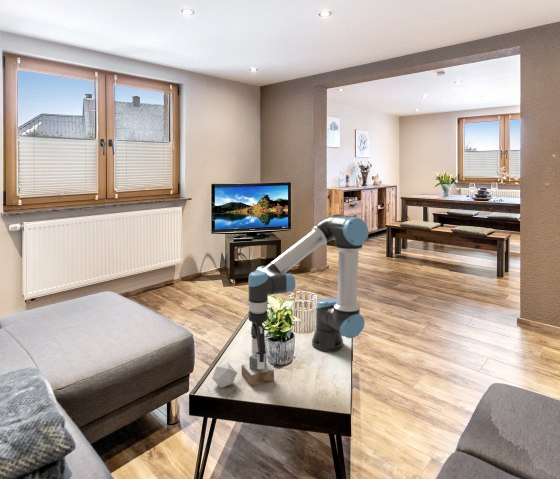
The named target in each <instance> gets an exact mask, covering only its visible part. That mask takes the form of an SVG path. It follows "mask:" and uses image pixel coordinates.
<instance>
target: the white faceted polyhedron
mask: <svg viewBox="0 0 560 479" xmlns="http://www.w3.org/2000/svg"><path fill="white" fill-rule="evenodd" d="M237 374H238V372H237V371H236V369H235V368H234V366H232V365H231V364H230V362H225V363H222V364H220V365H217V366H216V367H215V369H214V372H213V375H212V378H211V379H212V380H213V381H214V382H215V383H216V384H217V386H218V387H219V388H220V389H222V388H225V387H229V386H232V385H233V383H234V381H235V378H236V377H237Z"/></svg>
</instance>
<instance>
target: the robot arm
mask: <svg viewBox="0 0 560 479" xmlns="http://www.w3.org/2000/svg"><path fill="white" fill-rule="evenodd" d="M368 237H369V227H368V225H367V223H366V222H365V220H363V219H361V218H360V217H358V216H353V215H346V214H345V215H344V214H339V213H338V214H333V215H329V216H327V217H326V218H324V219H322V220H321V221H320V222H318V223H317V224H315V225H314V226H312V228H311V230H310V232H308V233H307V234H306V235H305V236H303V237H302V238H301V239H299V240H298V241H297V242H296V243H294V244H293V245H291V246H290V247H289V248H287V249H286V250H285V251H284V252H282V253H281V254H280V255H278V257H276V258H274V260H272V261H271V262H270V263H268V264H267V265H261V266H258V267H257V268H256V269H255V270H254V271H252V272H250V273H249V275H248V281H247V282H248V283H247V285H248V303H247V304H246V305H247V306H248V310H249V311H248V321H249V322H251V327H250V328H251V331H250V335H251V355H253V354H254V353H255V352H257V353H256V354H258V369H265V354H266V355H267V351H266V350H267V348H266V336H265V331H266V330H265V326H264V324H263V323H265V322H267V321H268V310H269V309H268V308H269V306H268V305H269V303H268V302H269V301H268V299H269V296H270V295H277V294H278V295H279V294H284V293H285V294H287V293H290V292H293V291H294V290H295V289H296V279H295V276H294V275H293V274H292V273H287V272H289V270H291V269H292V268H294V266H295V265H296V266H297V264H298V263H300V262H301V261H302V260H304V259H305V258H306V257H308V255H310V254H311V253H313V252H314V251H315V250H317V249H318V248H319V247H320V246H322V245H326V244H328V242H330V241H333V240H334V241H335V248H336V249H337V250H338V264H337V265H338V266H337V267H338V268H337V269H338V270H337V297H336V298H332V297H331V298H330V297H329V298H321V299H319V300H318V301H317V302H316V307H315V308H316V312H315V313H316V314H315V315H316V316H315V331H314V333H313V336H312V340H311V345H312V347H313V348H314V349H316V350H318V351H322V352H326V353H327V352H337V351H341V350H342V349H343V348H342V347H344V340H343V337H345V338H346V339H353V338H356V337H358V336H359V335H360V333H361V332H362V331H363V329H364V327H365V318H364V317H363V316H362V314H360V313H361V312H360V309H361V307H360V306H359V304H358V303H357V302H358V301H357V296H358V274H359V252H360V251H361V249H363V244H365V243H366V241H367V240H368ZM341 348H342V349H341Z"/></svg>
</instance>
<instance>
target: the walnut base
mask: <svg viewBox="0 0 560 479" xmlns="http://www.w3.org/2000/svg"><path fill="white" fill-rule="evenodd" d="M241 376H242V378H243V379H244V380H245V381H246V383H247V384H248V385H249V387H251V388H253V387H257V386H261V385H264V384H268V383H273V382H275V370H274V369H273V367H271V366H270V364H268V363H267V362H266V367H265V369H262V370H261V371H257V370H254V369H250V368H249V363H244V364H242V365H241Z"/></svg>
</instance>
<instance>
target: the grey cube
mask: <svg viewBox="0 0 560 479" xmlns="http://www.w3.org/2000/svg"><path fill="white" fill-rule="evenodd" d="M256 353H257V352H255V353H254V354H251V355H250V356H248V357H249V359H248V360H249V368H250V369H254V370H257V371H261V370H262V369H258V354H256ZM266 363H267V353H266V354H265V367H266Z"/></svg>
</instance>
